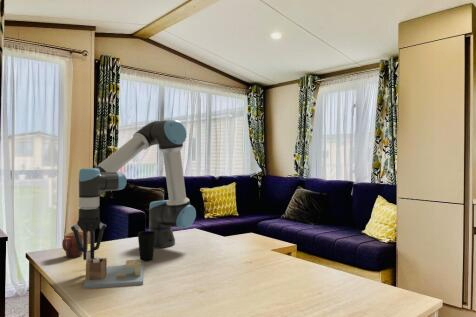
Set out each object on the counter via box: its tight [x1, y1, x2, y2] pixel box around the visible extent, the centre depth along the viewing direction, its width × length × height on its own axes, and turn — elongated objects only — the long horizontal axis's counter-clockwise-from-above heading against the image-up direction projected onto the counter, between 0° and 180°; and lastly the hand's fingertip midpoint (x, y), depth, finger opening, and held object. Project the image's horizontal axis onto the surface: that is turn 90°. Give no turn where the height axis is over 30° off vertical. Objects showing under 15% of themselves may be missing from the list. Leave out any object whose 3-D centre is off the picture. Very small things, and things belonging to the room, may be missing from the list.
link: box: [85, 257, 108, 281], centre depth 137 cm, size 15×6×6 cm, turn 14°
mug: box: [61, 231, 83, 259], centre depth 163 cm, size 12×9×10 cm
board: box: [83, 263, 145, 290], centre depth 137 cm, size 20×21×1 cm
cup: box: [137, 230, 155, 262], centre depth 160 cm, size 8×8×12 cm
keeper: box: [117, 258, 142, 279], centre depth 136 cm, size 8×8×4 cm
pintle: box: [93, 257, 101, 263], centre depth 133 cm, size 2×2×7 cm
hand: (88, 267), depth 140 cm, fingers closed
